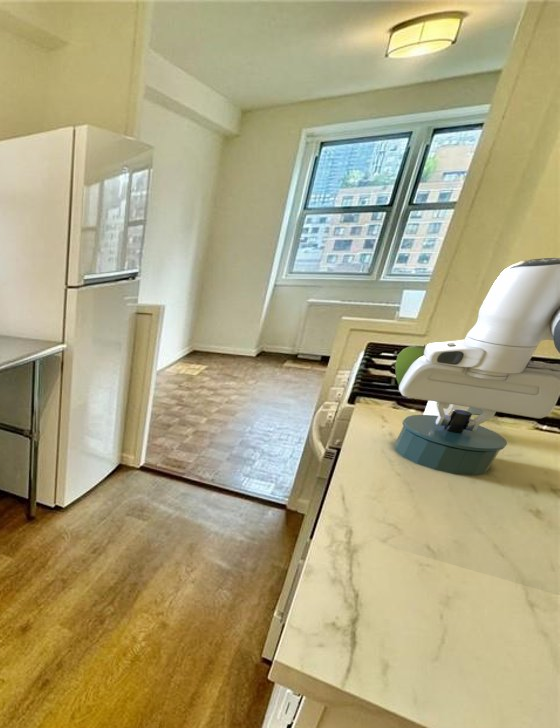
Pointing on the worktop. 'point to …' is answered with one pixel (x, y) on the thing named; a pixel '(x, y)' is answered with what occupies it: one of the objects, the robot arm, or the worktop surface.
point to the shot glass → (432, 408)
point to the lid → (455, 432)
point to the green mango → (407, 360)
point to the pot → (442, 455)
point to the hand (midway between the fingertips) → (454, 427)
